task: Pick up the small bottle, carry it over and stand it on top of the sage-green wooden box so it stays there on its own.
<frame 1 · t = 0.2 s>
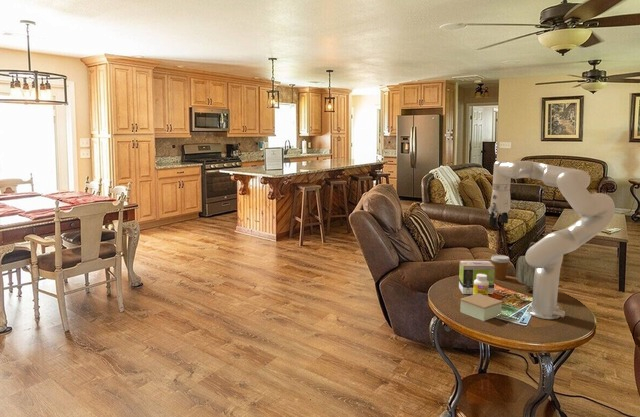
hand: (498, 224, 211), 36 cm above the table, tool pointing down, fingers open, 9 cm apart
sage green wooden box: (480, 313, 198), on the table
supplement bottle: (480, 302, 213), on the table
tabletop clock: (531, 292, 225), on the table
disposable coffee cup: (499, 278, 247), on the table
tea box: (475, 291, 226), on the table
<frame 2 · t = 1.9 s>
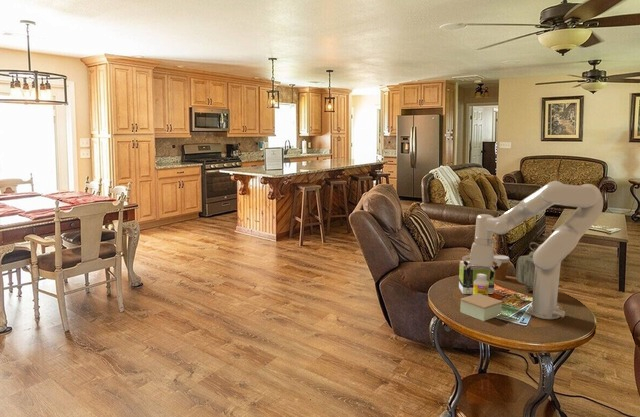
hand: (479, 277, 211), 12 cm above the table, tool pointing down, fingers open, 9 cm apart
nothing on the table moved.
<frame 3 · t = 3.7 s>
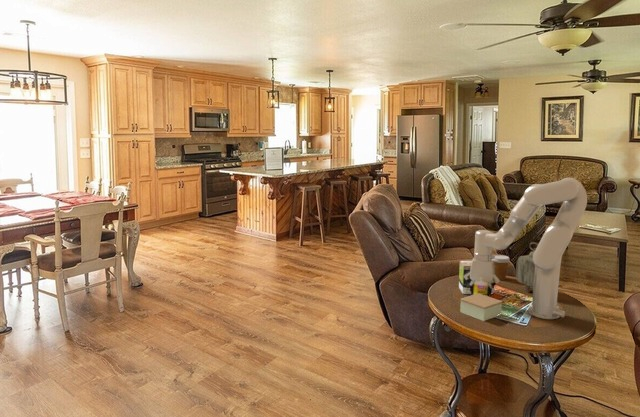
hand: (480, 293, 212), 4 cm above the table, tool pointing down, fingers closed on supplement bottle, 6 cm apart
supplement bottle: (480, 301, 213), on the table, touching gripper
everything else where it was.
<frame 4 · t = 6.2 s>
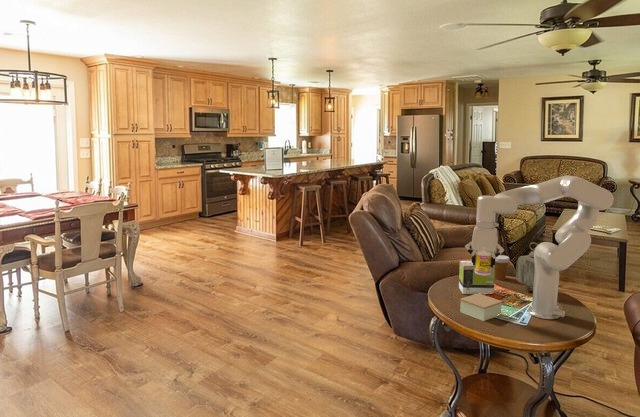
hand: (483, 265, 195), 22 cm above the table, tool pointing down, fingers closed on supplement bottle, 6 cm apart
supplement bottle: (482, 274, 196), point 18 cm above the table, touching gripper
everything else where it was.
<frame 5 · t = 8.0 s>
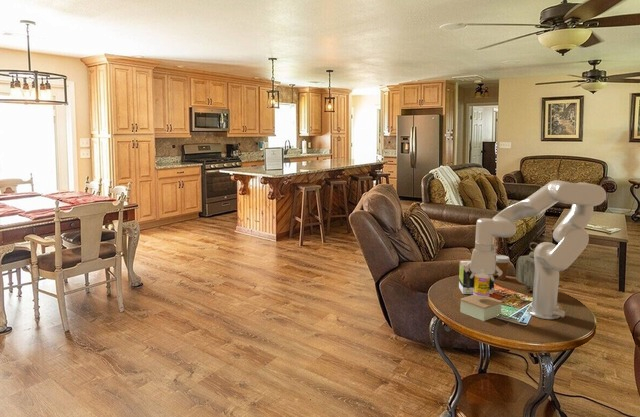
hand: (481, 287, 197), 12 cm above the table, tool pointing down, fingers closed on supplement bottle, 6 cm apart
supplement bottle: (481, 295, 197), point 8 cm above the table, touching gripper
everything else where it was.
when the fingers open (11 cm above the table, at t = 9.1 s): supplement bottle drops 1 cm, resting on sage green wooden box.
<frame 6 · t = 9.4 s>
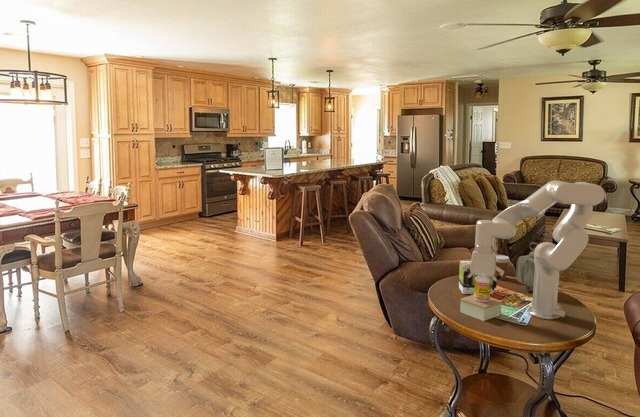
hand: (481, 287, 197), 12 cm above the table, tool pointing down, fingers open, 9 cm apart
supplement bottle: (481, 300, 197), point 6 cm above the table, touching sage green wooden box
everything else where it was.
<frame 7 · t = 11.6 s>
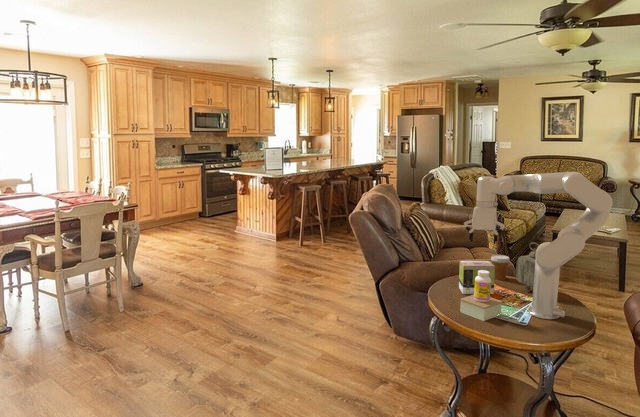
hand: (483, 242, 204), 29 cm above the table, tool pointing down, fingers open, 9 cm apart
nothing on the table moved.
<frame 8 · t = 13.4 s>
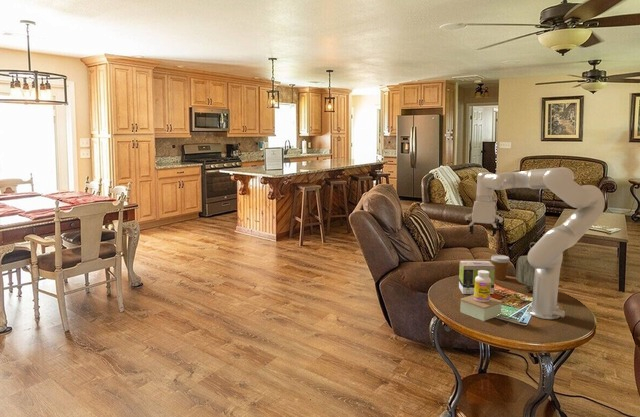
hand: (482, 234, 215), 30 cm above the table, tool pointing down, fingers open, 9 cm apart
nothing on the table moved.
at the end: supplement bottle inside the target area on the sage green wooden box (0.3 cm from its centre), point 5.9 cm above the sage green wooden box's base; supplement bottle tilted 0°; the gripper is holding nothing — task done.
